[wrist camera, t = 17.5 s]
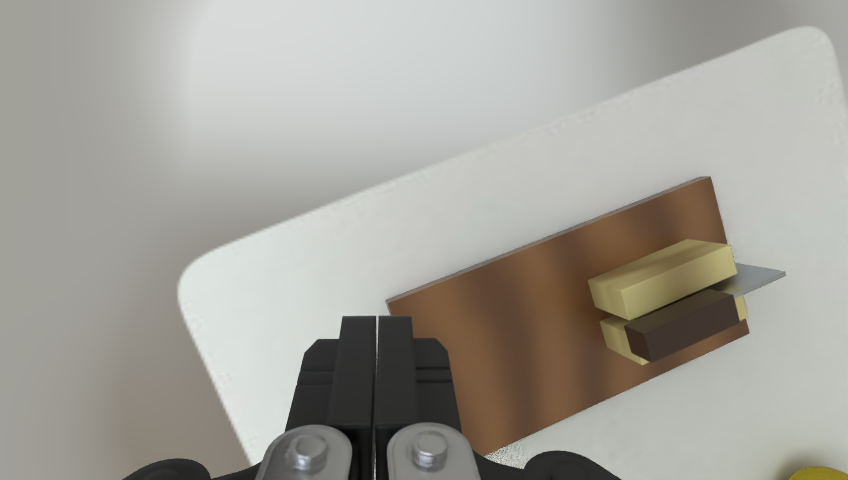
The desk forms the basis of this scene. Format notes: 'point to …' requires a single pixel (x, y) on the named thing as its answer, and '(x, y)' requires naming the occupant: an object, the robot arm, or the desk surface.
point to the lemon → (819, 474)
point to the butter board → (571, 312)
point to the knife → (695, 315)
